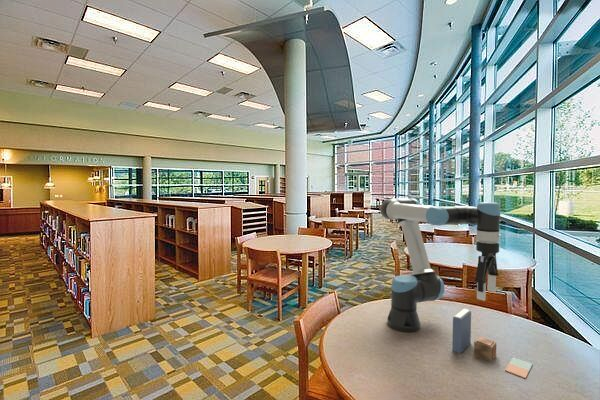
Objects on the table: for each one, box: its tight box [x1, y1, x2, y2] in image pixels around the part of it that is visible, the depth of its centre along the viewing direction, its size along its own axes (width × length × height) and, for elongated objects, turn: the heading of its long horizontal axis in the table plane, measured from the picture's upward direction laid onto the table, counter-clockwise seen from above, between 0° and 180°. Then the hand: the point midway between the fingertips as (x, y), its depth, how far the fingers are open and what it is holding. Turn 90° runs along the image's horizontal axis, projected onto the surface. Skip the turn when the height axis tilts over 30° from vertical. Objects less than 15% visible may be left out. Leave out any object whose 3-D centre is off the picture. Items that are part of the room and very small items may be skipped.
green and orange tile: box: [504, 362, 530, 380], centre depth 106 cm, size 6×6×1 cm
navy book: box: [451, 308, 472, 355], centre depth 122 cm, size 3×12×14 cm, turn 133°
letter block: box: [473, 336, 497, 362], centre depth 116 cm, size 6×6×6 cm
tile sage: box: [509, 357, 533, 372], centre depth 110 cm, size 6×6×1 cm
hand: (486, 295), depth 115 cm, fingers open, 13 cm apart
